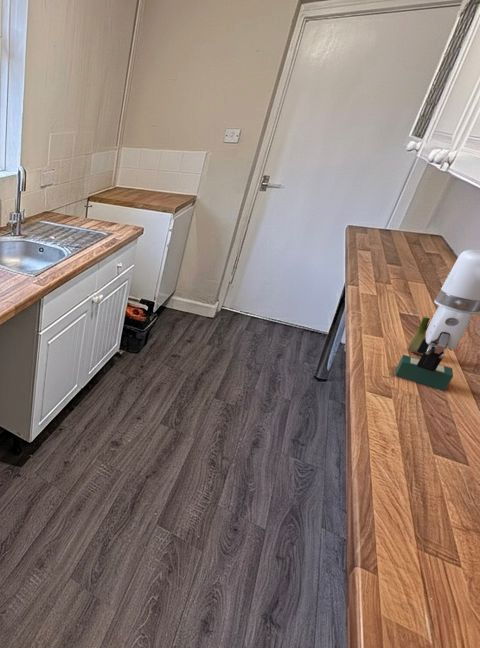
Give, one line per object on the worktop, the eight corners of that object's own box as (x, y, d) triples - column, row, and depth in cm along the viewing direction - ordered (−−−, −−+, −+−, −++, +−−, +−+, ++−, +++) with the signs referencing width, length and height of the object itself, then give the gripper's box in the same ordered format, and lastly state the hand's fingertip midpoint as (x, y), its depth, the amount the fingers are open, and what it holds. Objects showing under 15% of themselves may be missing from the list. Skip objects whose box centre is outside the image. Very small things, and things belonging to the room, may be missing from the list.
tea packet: (444, 382, 106) (452, 367, 104) (444, 391, 103) (453, 375, 101) (396, 368, 112) (403, 354, 110) (395, 376, 109) (402, 361, 107)
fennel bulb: (405, 353, 119) (423, 316, 114) (405, 346, 122) (423, 310, 118) (434, 360, 115) (454, 323, 111) (433, 354, 119) (452, 317, 114)
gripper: (486, 318, 91) (447, 381, 98) (479, 296, 102) (445, 354, 109) (437, 307, 95) (404, 368, 103) (436, 287, 107) (405, 343, 114)
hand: (425, 361), depth 106 cm, fingers open, 9 cm apart
